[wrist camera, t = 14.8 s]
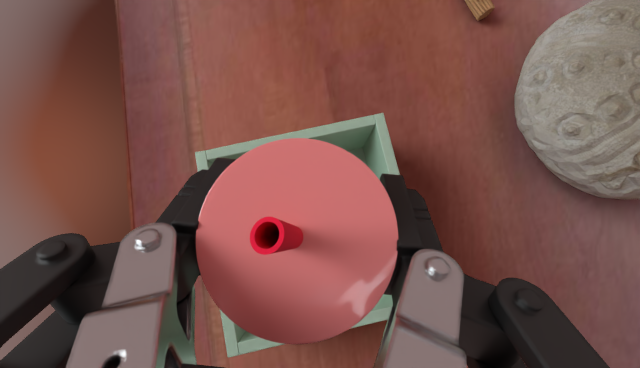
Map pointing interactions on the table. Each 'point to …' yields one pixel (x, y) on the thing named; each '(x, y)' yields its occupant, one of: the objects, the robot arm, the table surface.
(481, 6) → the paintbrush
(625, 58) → the decorative shell
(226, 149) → the bin
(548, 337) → the robot arm
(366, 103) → the table surface
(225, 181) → the cup
